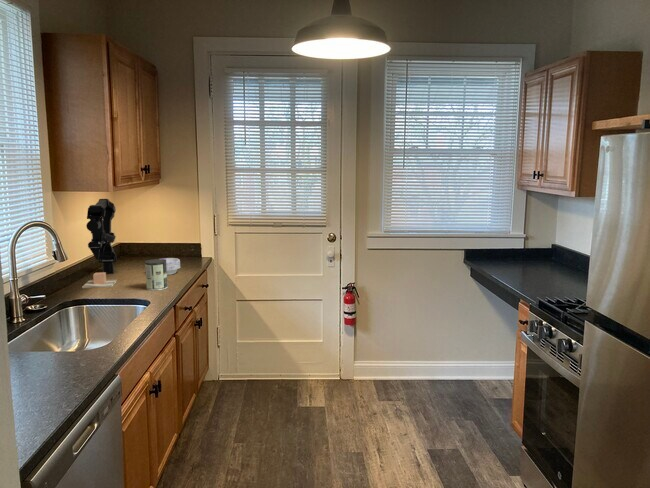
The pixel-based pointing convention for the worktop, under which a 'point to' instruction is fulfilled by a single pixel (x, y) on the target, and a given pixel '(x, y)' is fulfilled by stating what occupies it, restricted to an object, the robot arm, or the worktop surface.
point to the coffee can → (156, 274)
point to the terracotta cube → (99, 278)
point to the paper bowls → (172, 265)
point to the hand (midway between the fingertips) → (99, 257)
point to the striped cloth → (91, 284)
